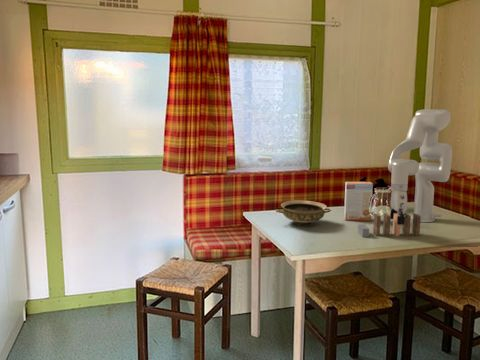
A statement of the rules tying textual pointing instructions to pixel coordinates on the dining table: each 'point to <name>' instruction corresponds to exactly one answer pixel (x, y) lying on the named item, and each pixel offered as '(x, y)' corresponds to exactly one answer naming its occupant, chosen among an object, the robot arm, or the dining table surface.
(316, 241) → the dining table surface
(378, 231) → the walnut domino
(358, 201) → the cracker box
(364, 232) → the end block
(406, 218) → the walnut domino
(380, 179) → the coal bowl
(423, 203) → the robot arm
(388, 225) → the walnut domino
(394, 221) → the terracotta domino
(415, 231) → the walnut domino
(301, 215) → the ceramic bowl
